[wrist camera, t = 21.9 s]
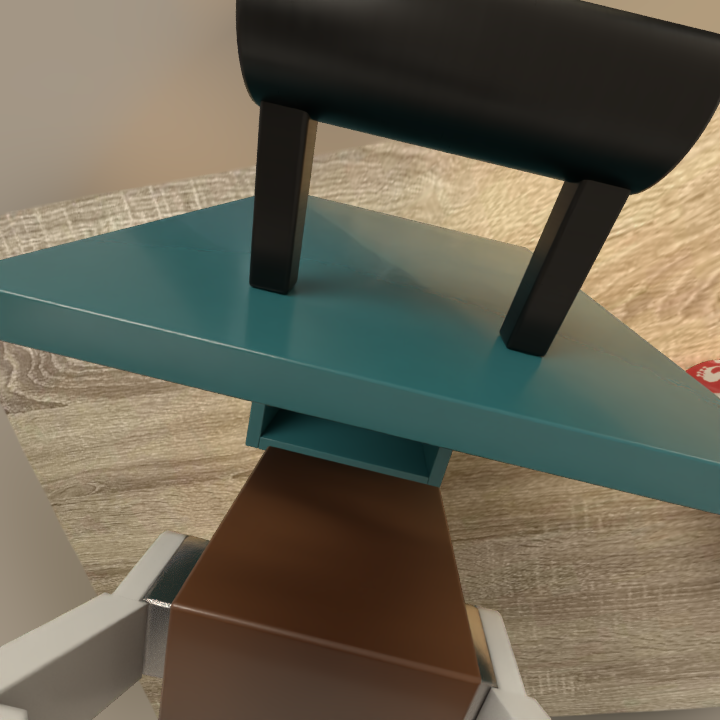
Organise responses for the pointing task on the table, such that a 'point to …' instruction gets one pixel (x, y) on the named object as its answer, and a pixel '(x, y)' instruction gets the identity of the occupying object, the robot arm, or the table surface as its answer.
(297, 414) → the teal open-top bin
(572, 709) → the table surface
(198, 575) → the block
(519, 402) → the lid
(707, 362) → the mug
